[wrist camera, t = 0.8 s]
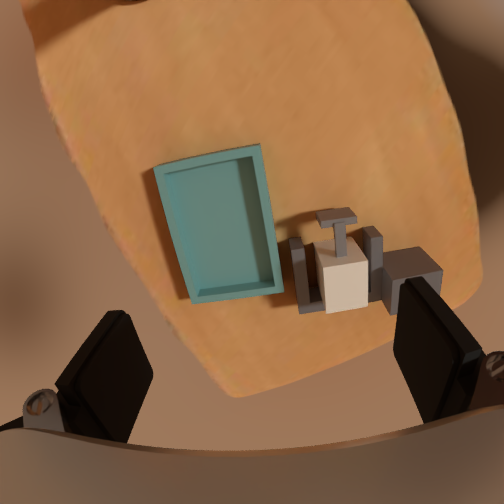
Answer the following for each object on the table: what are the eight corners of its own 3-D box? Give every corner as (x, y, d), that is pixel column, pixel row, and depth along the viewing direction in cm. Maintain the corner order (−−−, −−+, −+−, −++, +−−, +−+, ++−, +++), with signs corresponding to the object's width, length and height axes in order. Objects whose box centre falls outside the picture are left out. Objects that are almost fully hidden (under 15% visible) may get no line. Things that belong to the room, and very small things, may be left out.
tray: (159, 164, 35) (153, 167, 32) (260, 143, 33) (259, 145, 31) (195, 294, 42) (192, 304, 40) (283, 282, 41) (284, 292, 38)
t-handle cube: (309, 208, 37) (319, 228, 30) (349, 202, 36) (366, 221, 30) (317, 283, 41) (326, 313, 34) (353, 277, 40) (367, 306, 34)
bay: (288, 238, 38) (293, 264, 32) (420, 219, 36) (446, 239, 30) (296, 299, 42) (302, 331, 35) (417, 277, 40) (438, 304, 34)
